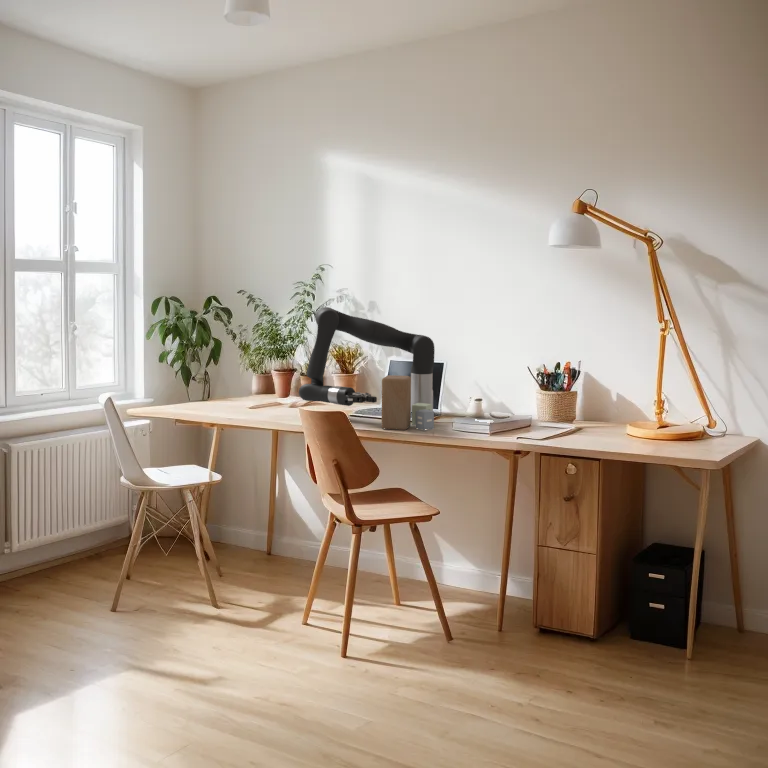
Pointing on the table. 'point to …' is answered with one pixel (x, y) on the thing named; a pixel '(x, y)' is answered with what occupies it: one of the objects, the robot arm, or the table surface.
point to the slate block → (425, 419)
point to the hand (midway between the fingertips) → (375, 399)
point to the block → (396, 402)
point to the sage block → (419, 407)
